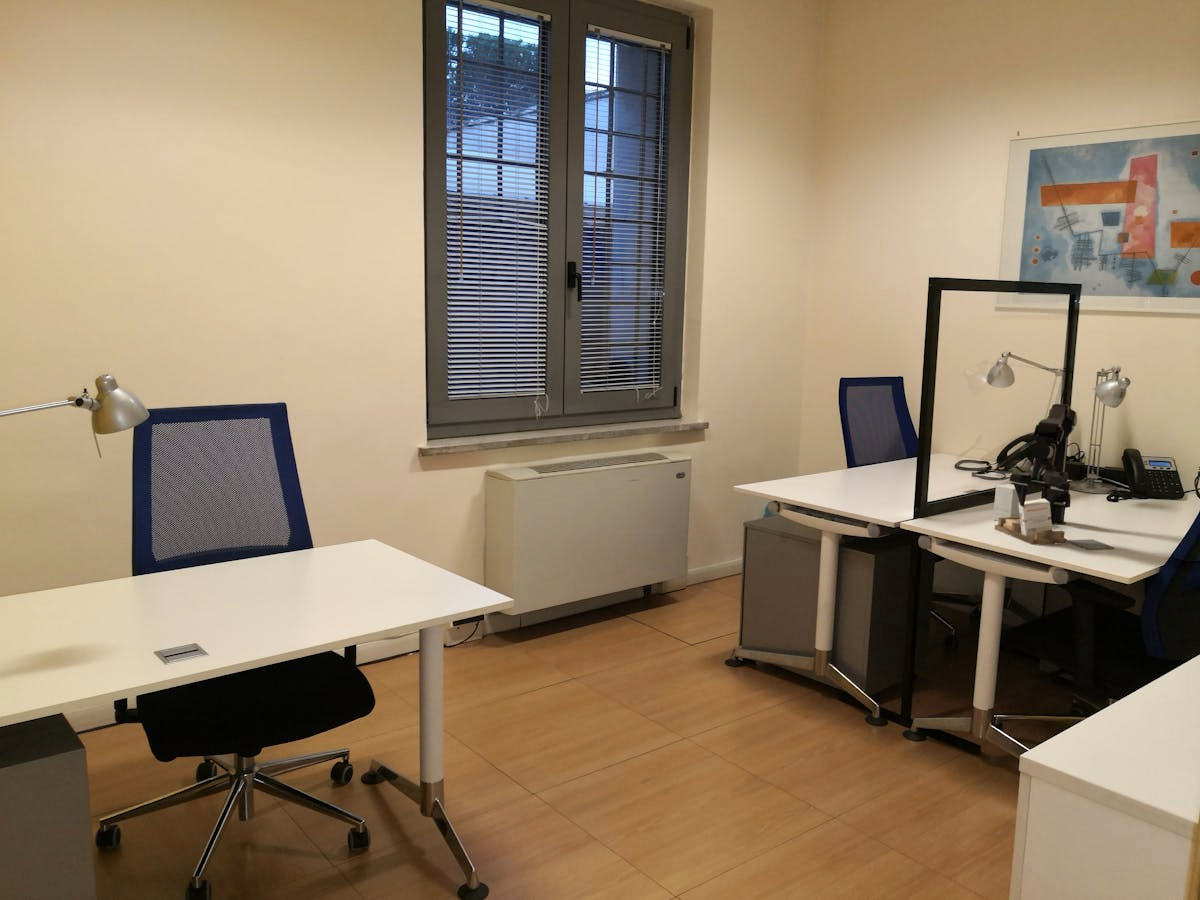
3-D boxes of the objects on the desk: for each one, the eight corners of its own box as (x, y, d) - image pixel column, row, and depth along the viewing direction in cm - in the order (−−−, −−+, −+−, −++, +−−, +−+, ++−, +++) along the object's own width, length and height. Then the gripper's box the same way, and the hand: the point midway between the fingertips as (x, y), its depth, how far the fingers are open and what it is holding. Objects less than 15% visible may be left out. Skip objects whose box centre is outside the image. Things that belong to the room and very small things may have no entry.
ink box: (1047, 530, 322) (1044, 497, 319) (1053, 536, 317) (1050, 502, 314) (1020, 535, 323) (1017, 501, 320) (1026, 540, 318) (1023, 506, 315)
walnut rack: (1026, 528, 335) (1028, 516, 334) (1066, 543, 315) (1067, 531, 315) (994, 529, 332) (995, 517, 331) (1032, 544, 313) (1034, 532, 312)
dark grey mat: (1092, 540, 320) (1092, 539, 320) (1114, 549, 311) (1114, 547, 311) (1066, 541, 318) (1066, 540, 318) (1087, 549, 309) (1087, 548, 309)
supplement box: (1023, 522, 343) (1027, 487, 341) (1009, 524, 340) (1013, 488, 338) (1005, 518, 350) (1009, 483, 348) (991, 519, 346) (995, 484, 344)
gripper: (1034, 459, 306) (1025, 508, 307) (1085, 467, 310) (1076, 515, 311) (1012, 455, 317) (1004, 502, 318) (1062, 463, 321) (1053, 510, 322)
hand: (1035, 508), depth 317 cm, fingers closed on ink box, 9 cm apart
